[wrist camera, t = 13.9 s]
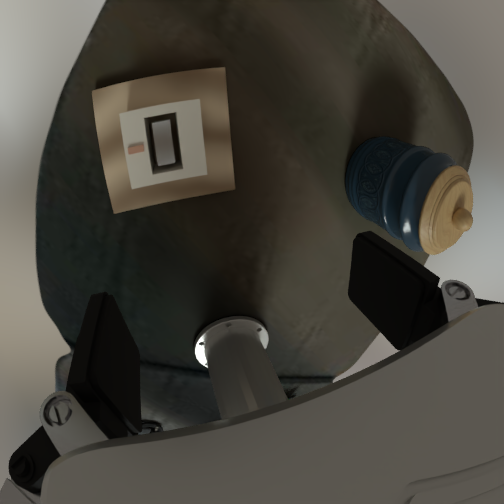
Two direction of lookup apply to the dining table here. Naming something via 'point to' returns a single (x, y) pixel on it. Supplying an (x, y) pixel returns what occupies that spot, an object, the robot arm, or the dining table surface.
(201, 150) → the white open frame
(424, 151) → the canister
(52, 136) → the dining table surface
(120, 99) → the base
